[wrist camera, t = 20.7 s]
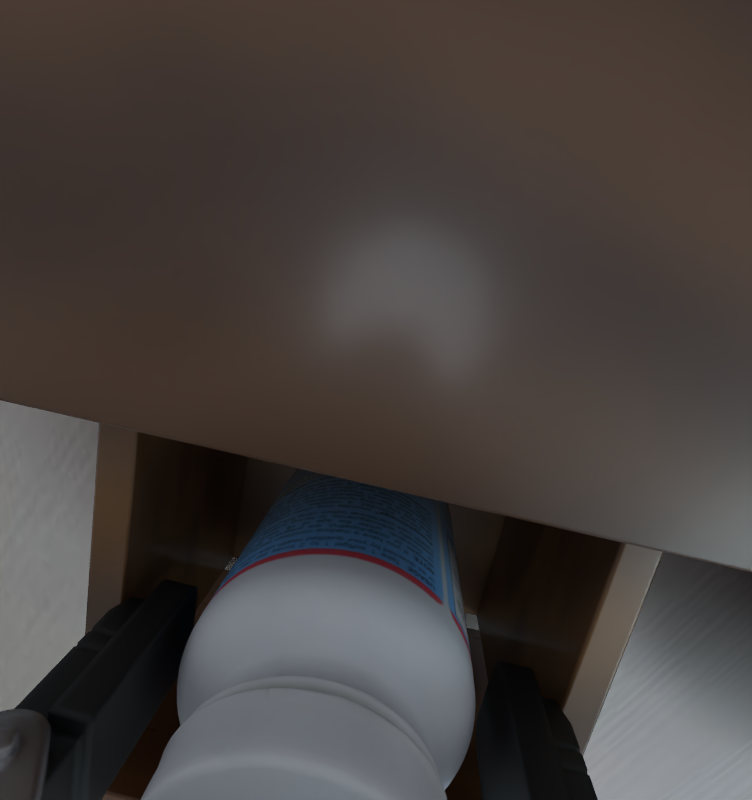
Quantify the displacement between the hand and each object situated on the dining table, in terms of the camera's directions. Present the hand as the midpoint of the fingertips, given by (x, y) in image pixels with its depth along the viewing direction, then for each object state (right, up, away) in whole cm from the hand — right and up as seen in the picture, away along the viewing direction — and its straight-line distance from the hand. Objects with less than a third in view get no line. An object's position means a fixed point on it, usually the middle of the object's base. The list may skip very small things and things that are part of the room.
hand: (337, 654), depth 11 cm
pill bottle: (+1, +2, +7) cm, 7 cm away
